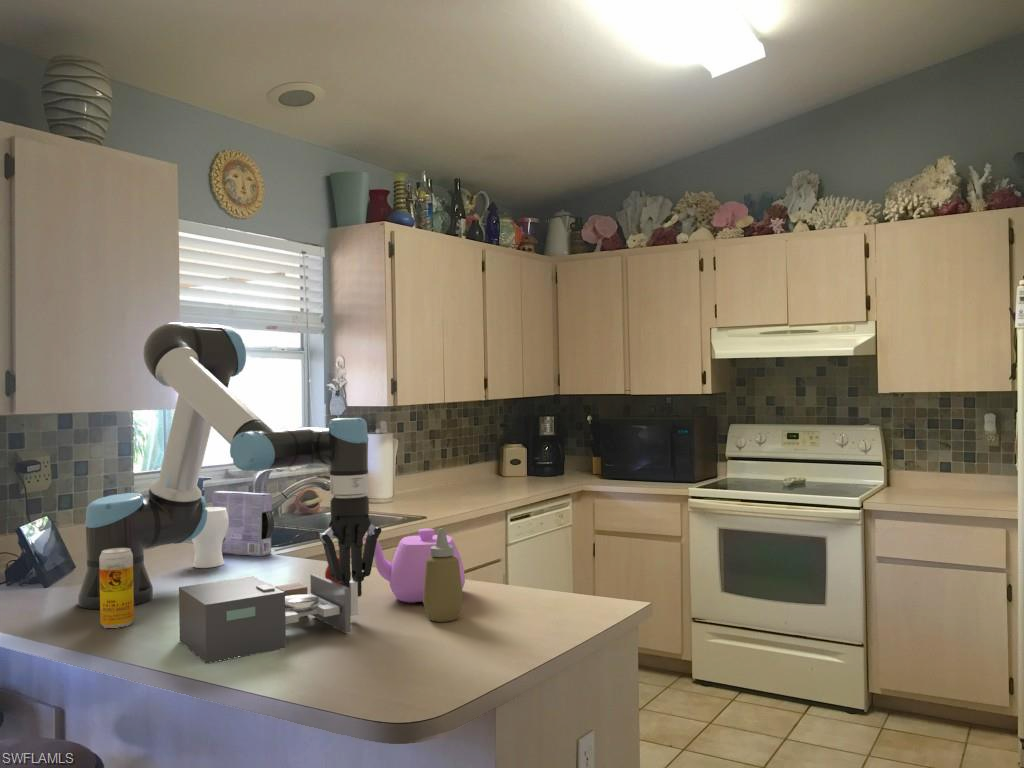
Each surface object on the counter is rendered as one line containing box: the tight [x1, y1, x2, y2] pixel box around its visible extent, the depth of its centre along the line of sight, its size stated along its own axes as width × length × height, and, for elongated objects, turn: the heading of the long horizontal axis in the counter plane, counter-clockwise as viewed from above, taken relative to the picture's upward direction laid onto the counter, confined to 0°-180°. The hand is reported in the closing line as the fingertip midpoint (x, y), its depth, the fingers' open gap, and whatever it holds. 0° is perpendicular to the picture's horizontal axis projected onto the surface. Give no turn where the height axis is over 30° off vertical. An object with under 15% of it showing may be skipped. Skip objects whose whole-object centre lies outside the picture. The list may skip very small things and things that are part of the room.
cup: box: [191, 506, 229, 569], centre depth 229 cm, size 11×11×15 cm
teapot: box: [363, 527, 466, 604], centre depth 190 cm, size 23×21×15 cm
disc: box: [285, 595, 319, 613], centre depth 163 cm, size 8×8×2 cm
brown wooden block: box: [274, 582, 309, 618], centre depth 175 cm, size 5×5×6 cm
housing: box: [178, 576, 287, 664], centre depth 156 cm, size 17×14×10 cm
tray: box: [285, 573, 352, 633], centre depth 163 cm, size 17×14×8 cm
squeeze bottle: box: [422, 527, 464, 623], centre depth 171 cm, size 8×8×18 cm
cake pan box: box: [212, 490, 275, 557], centre depth 245 cm, size 19×5×18 cm, turn 68°
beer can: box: [99, 548, 135, 629], centre depth 171 cm, size 6×6×15 cm
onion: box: [324, 555, 352, 584], centre depth 197 cm, size 6×6×8 cm
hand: (351, 613), depth 170 cm, fingers closed
